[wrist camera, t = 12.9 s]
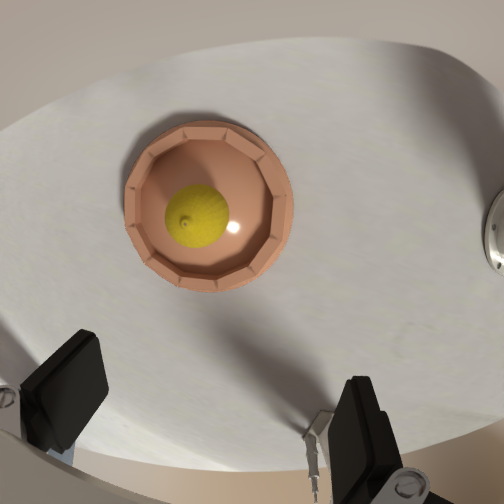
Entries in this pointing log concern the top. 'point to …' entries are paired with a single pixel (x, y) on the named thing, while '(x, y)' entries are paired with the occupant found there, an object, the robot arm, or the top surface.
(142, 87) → the top surface
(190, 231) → the lemon
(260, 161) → the dish
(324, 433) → the skyscraper
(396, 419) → the top surface
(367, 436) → the robot arm
